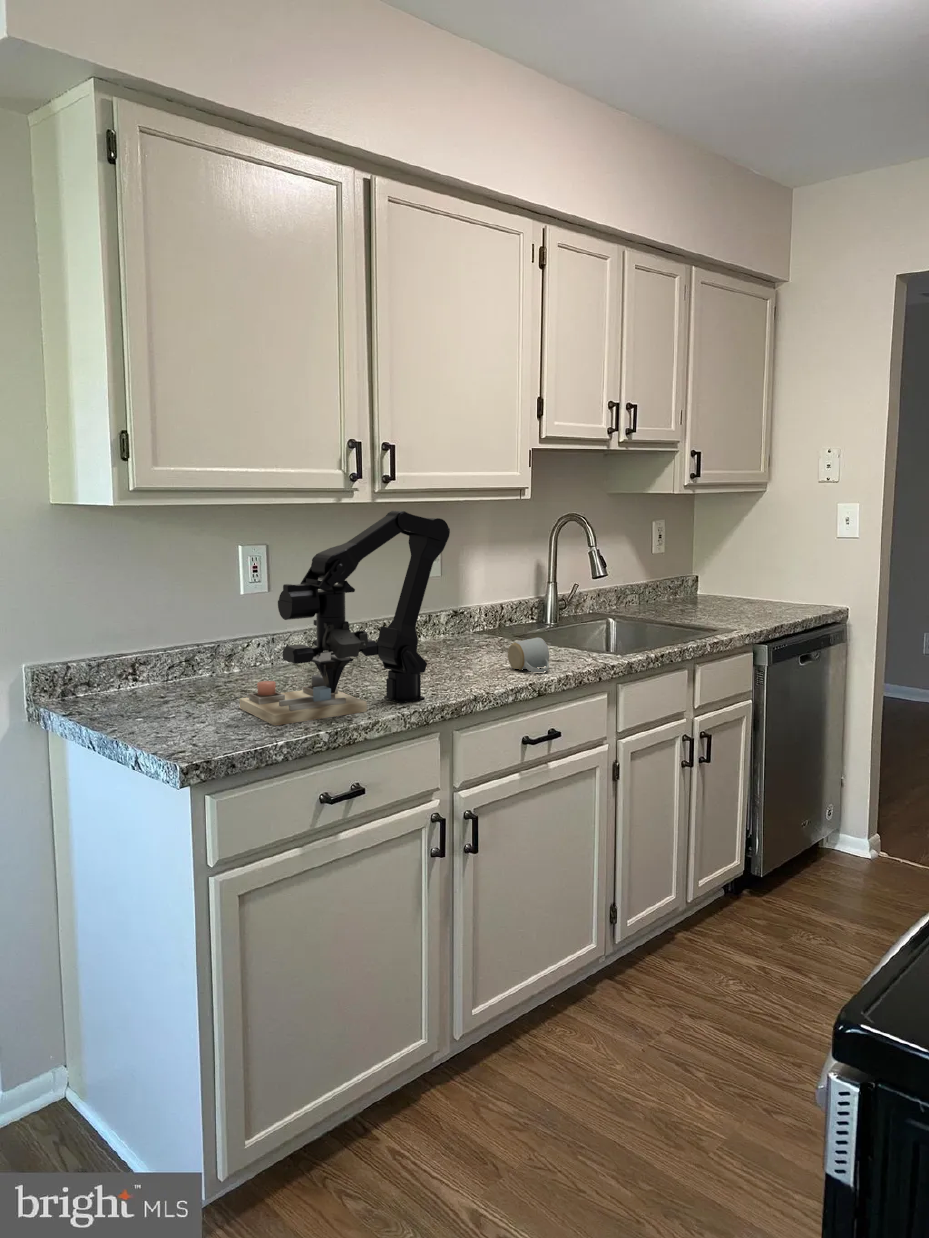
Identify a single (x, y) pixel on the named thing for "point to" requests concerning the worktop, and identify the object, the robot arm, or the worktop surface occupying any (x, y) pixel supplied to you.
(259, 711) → the control panel
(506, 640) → the worktop surface
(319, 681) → the black button
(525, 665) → the ceramic mug
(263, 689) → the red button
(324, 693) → the slider knob
